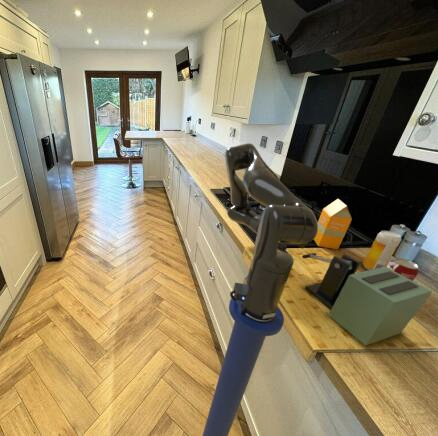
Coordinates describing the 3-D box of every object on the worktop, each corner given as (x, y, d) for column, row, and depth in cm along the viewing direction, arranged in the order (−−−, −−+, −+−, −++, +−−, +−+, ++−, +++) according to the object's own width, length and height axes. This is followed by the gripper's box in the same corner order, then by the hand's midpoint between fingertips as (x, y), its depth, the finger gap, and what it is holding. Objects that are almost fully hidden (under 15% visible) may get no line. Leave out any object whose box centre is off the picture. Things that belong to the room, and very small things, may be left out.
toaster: (328, 315, 69) (349, 274, 62) (361, 305, 72) (385, 265, 66) (365, 345, 60) (395, 301, 53) (401, 333, 64) (433, 290, 57)
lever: (302, 259, 80) (302, 252, 80) (313, 257, 81) (313, 250, 81) (343, 271, 68) (343, 262, 67) (355, 268, 69) (355, 260, 69)
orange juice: (317, 246, 103) (335, 204, 94) (311, 236, 111) (327, 196, 102) (338, 249, 101) (358, 207, 92) (330, 239, 109) (348, 199, 100)
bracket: (304, 288, 78) (320, 251, 72) (322, 284, 81) (339, 248, 74) (334, 311, 70) (355, 272, 63) (353, 306, 72) (375, 267, 66)
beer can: (375, 264, 92) (394, 231, 86) (386, 274, 87) (407, 239, 80) (358, 262, 93) (375, 229, 87) (368, 271, 88) (387, 237, 81)
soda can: (407, 299, 76) (428, 269, 70) (388, 299, 75) (407, 269, 70) (386, 284, 82) (404, 256, 76) (368, 285, 81) (385, 256, 76)
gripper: (251, 220, 95) (282, 241, 81) (279, 217, 99) (313, 236, 85) (246, 236, 99) (276, 259, 85) (274, 232, 103) (306, 253, 89)
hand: (294, 247), depth 85 cm, fingers open, 8 cm apart
